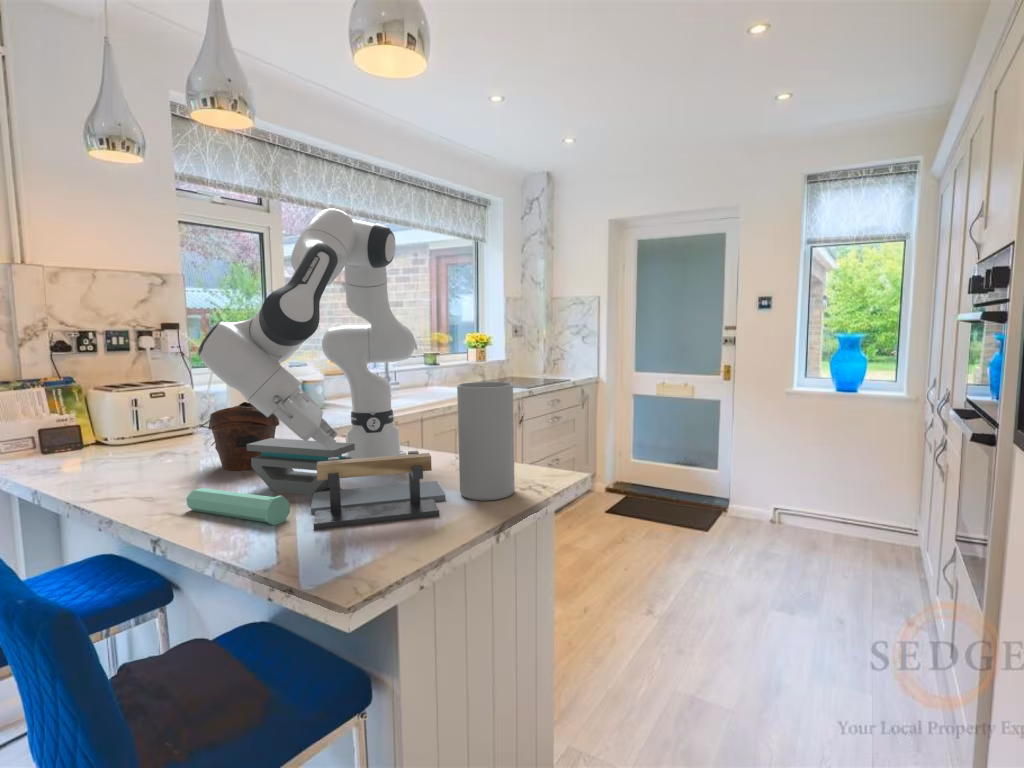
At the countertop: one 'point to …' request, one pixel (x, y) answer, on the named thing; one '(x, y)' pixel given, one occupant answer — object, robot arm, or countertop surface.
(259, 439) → the brown tapered pot
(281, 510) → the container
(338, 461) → the oak rail
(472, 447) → the cylinder vase
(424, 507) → the hook stand
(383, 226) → the robot arm
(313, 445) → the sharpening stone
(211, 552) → the countertop surface
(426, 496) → the rubber mat
